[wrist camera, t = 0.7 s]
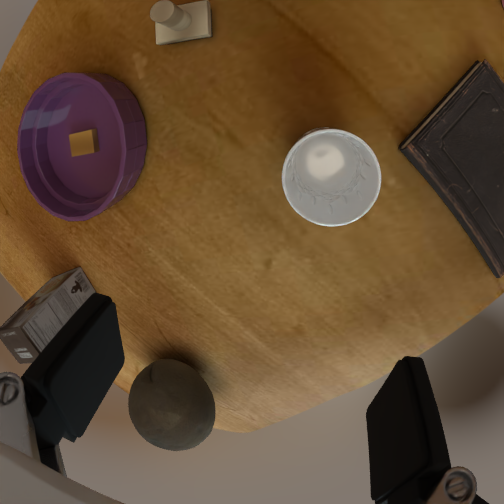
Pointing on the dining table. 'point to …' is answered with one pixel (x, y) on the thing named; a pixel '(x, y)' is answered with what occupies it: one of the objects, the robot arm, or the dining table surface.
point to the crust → (84, 142)
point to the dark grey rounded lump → (171, 405)
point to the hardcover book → (467, 157)
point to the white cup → (331, 177)
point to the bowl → (88, 165)
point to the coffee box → (45, 314)
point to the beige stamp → (181, 21)
